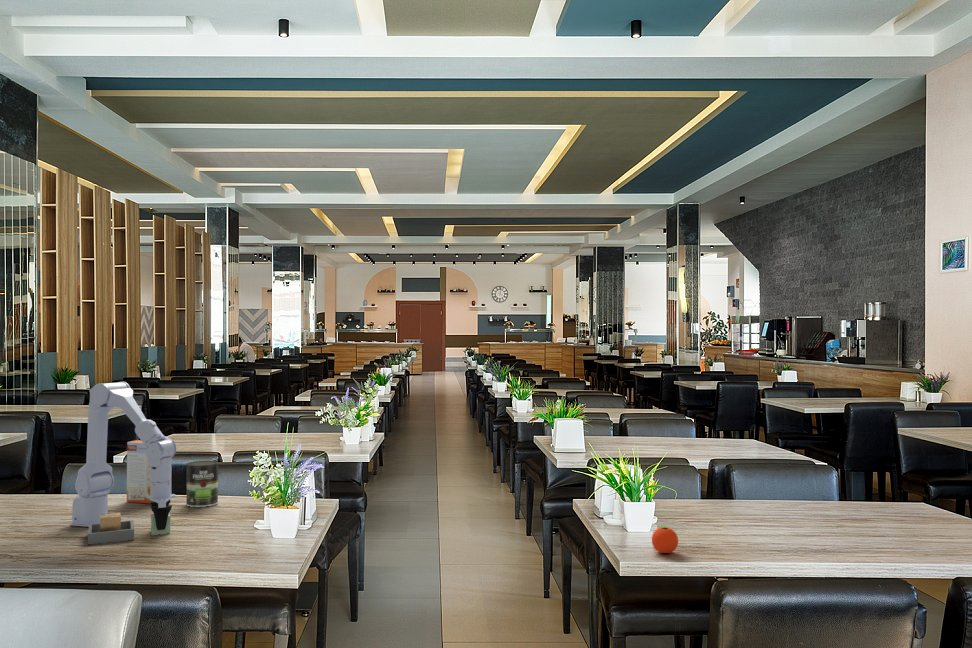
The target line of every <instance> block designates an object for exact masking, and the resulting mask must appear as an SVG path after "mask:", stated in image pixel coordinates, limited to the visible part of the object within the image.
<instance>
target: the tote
mask: <svg viewBox="0 0 972 648" xmlns="http://www.w3.org/2000/svg"><path fill="white" fill-rule="evenodd" d="M128 540H129V541H134V540H135V525H134V519H129V520H121V530H116V531H106V532H100V523H98V524H89V527H88V530H87V545H88V544H92V545H99V544H98V543H101V544H108V543H107V542H110V543H119V542H128Z"/></svg>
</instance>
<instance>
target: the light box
mask: <svg viewBox="0 0 972 648" xmlns="http://www.w3.org/2000/svg"><path fill="white" fill-rule="evenodd" d="M167 533H169V534H171V513H170V512H169V515H168V518H167V524H166V528H165V530H157V527H156V521H155V516H154V513H153V514H152V513H150V534H151V536H158V535H159V534H160V535H166V534H167ZM160 535H159V536H160Z"/></svg>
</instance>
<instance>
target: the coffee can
mask: <svg viewBox="0 0 972 648" xmlns="http://www.w3.org/2000/svg"><path fill="white" fill-rule="evenodd" d="M219 464H220V463H219V462H218V461H216V460H198V461H197V460H196V461H190V462H187V463H186V497H185V498H186V502H185V503H186V504H185V505H187V506H186V507H188V506H190V507H189V508H193V507H202V508H207V507H206V506H210V507H214V506H216V504H217V505H218V504H219ZM213 505H214V506H213Z"/></svg>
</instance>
